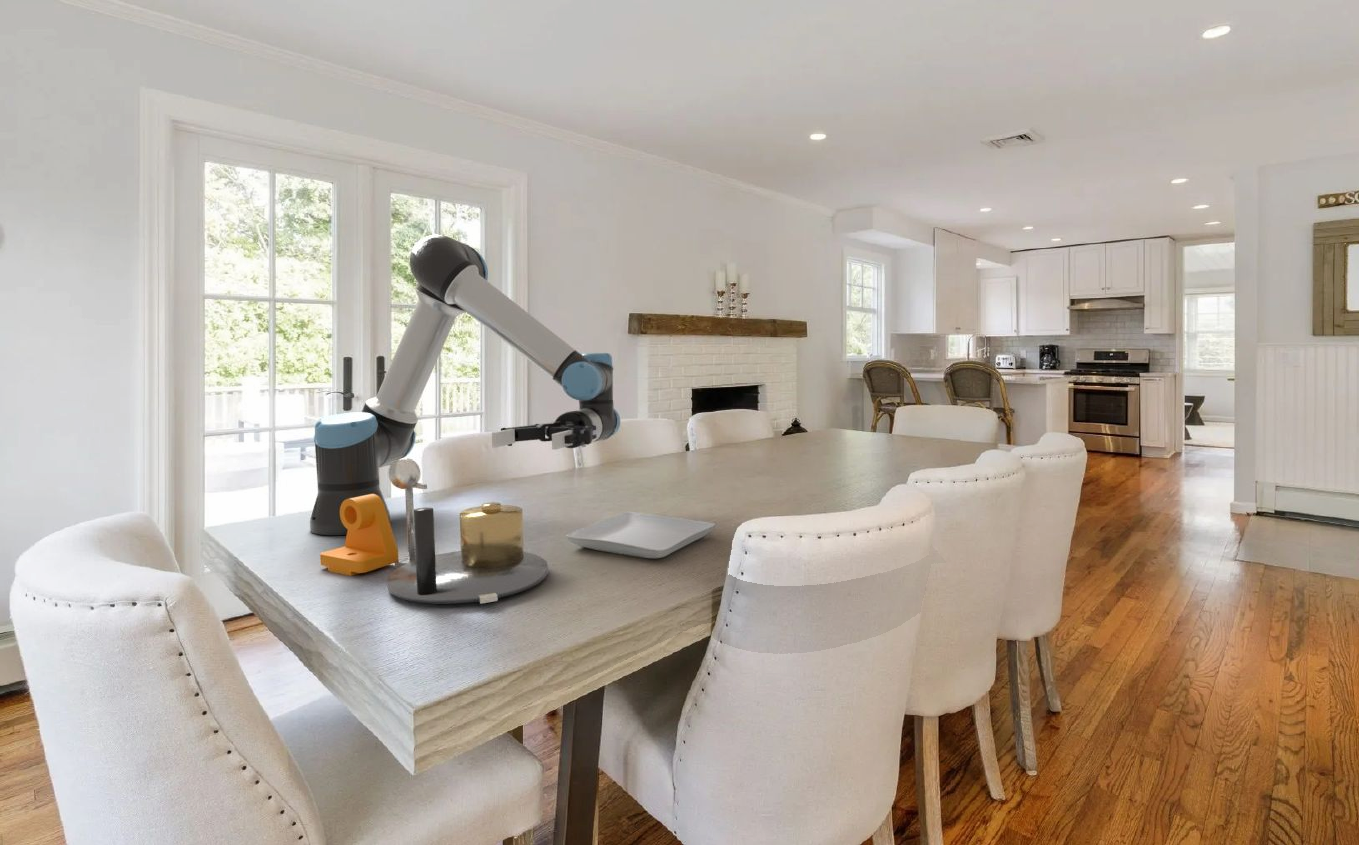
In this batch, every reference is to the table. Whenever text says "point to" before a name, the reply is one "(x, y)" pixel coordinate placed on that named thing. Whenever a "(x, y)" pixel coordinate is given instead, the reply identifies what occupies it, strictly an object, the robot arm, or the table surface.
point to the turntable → (458, 573)
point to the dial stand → (407, 498)
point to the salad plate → (640, 534)
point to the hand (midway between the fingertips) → (523, 440)
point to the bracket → (363, 538)
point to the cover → (491, 535)
